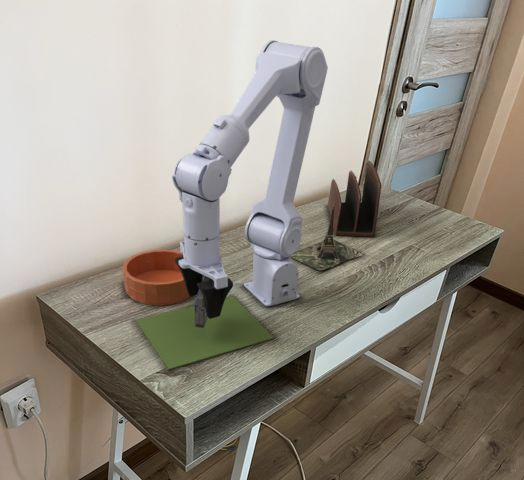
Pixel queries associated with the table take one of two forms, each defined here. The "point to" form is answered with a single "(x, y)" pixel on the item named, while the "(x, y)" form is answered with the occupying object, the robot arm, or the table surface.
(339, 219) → the letter holder
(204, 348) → the cloth
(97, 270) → the table surface
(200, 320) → the mini dv tape
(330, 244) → the eiffel tower figurine
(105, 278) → the table surface
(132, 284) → the pot
